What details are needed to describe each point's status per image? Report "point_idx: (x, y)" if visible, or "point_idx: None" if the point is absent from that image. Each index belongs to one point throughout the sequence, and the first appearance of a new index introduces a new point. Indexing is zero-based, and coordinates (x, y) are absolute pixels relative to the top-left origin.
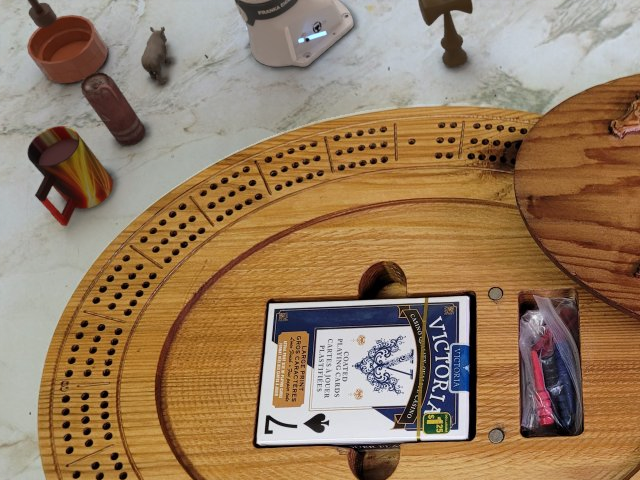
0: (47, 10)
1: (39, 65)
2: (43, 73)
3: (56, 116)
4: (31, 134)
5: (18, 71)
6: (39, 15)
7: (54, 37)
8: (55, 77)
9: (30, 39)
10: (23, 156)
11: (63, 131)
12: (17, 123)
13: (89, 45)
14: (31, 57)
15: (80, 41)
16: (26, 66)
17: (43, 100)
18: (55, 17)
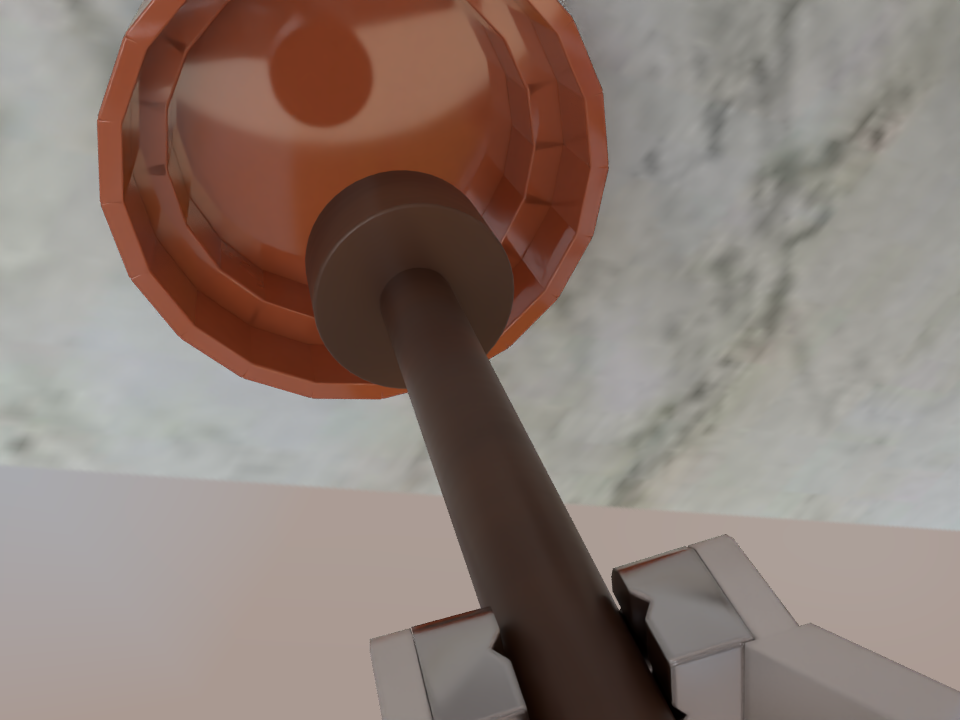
0: (470, 236)
1: None
2: None
3: (675, 313)
4: (696, 426)
5: (239, 435)
6: (490, 311)
7: (183, 216)
8: None
9: (253, 371)
10: (783, 466)
11: None
12: (593, 471)
13: (561, 6)
14: None
15: (199, 56)
16: (221, 395)
17: (531, 351)
18: (446, 183)
